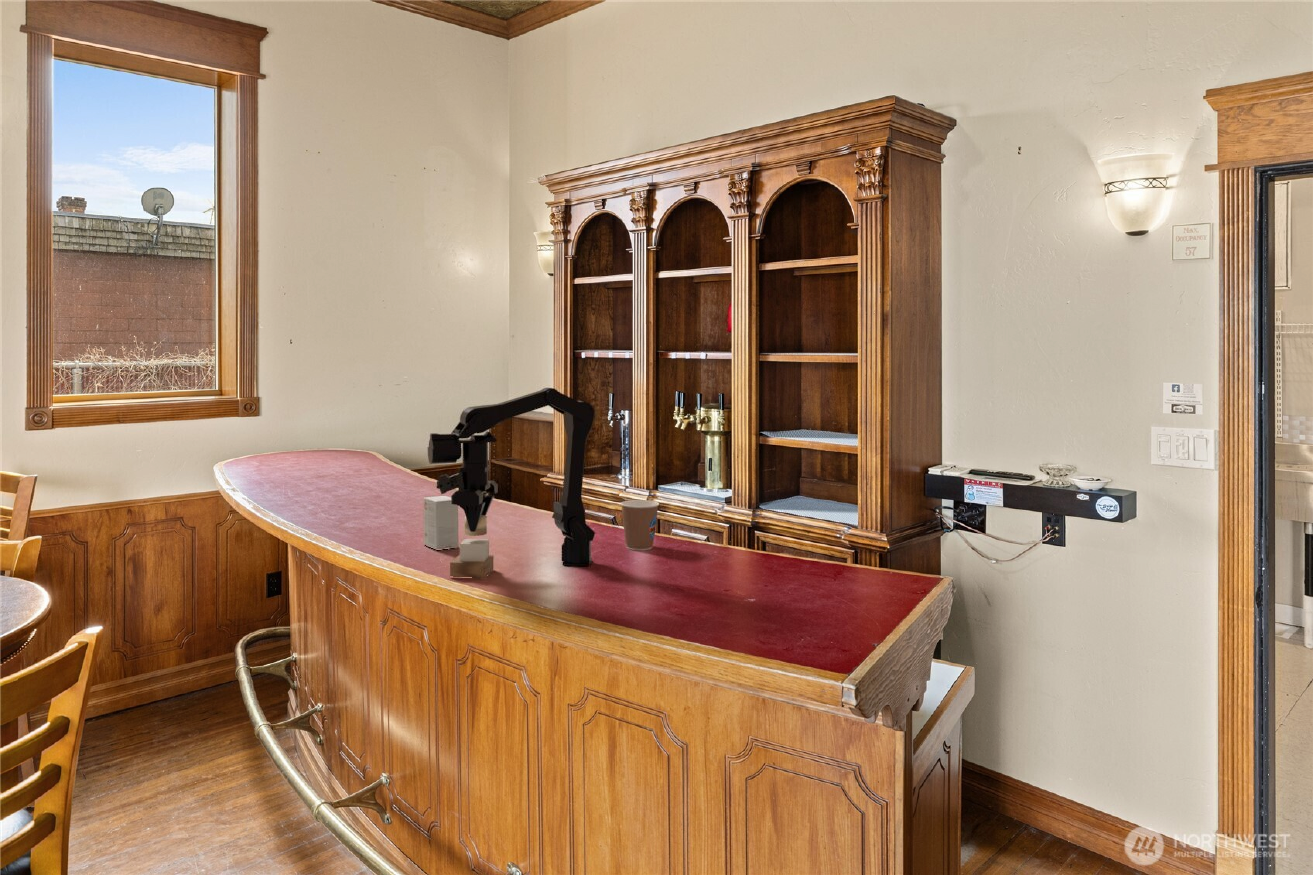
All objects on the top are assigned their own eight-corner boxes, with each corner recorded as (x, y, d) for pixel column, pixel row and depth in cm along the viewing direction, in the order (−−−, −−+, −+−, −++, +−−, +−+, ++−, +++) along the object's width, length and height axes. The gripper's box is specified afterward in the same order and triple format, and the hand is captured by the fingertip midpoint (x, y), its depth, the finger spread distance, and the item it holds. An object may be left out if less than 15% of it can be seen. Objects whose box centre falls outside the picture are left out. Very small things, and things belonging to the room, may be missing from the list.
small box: (459, 548, 218) (458, 499, 217) (436, 551, 214) (435, 501, 213) (445, 542, 225) (445, 495, 224) (423, 546, 221) (422, 497, 220)
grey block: (489, 556, 195) (489, 539, 195) (484, 561, 190) (483, 544, 189) (465, 555, 195) (465, 538, 195) (459, 561, 190) (459, 543, 189)
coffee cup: (658, 552, 217) (659, 506, 216) (618, 551, 217) (619, 506, 216) (658, 543, 227) (659, 500, 226) (621, 543, 228) (621, 499, 227)
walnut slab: (493, 571, 196) (493, 555, 196) (485, 580, 188) (485, 563, 188) (459, 571, 197) (459, 554, 196) (450, 579, 189) (450, 562, 188)
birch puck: (489, 531, 195) (488, 514, 194) (483, 536, 190) (483, 518, 189) (467, 531, 195) (467, 514, 194) (462, 535, 190) (461, 518, 190)
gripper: (452, 456, 200) (452, 520, 202) (427, 466, 182) (428, 537, 183) (498, 457, 200) (498, 521, 201) (478, 467, 181) (478, 538, 183)
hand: (475, 529), depth 192 cm, fingers closed on birch puck, 5 cm apart
